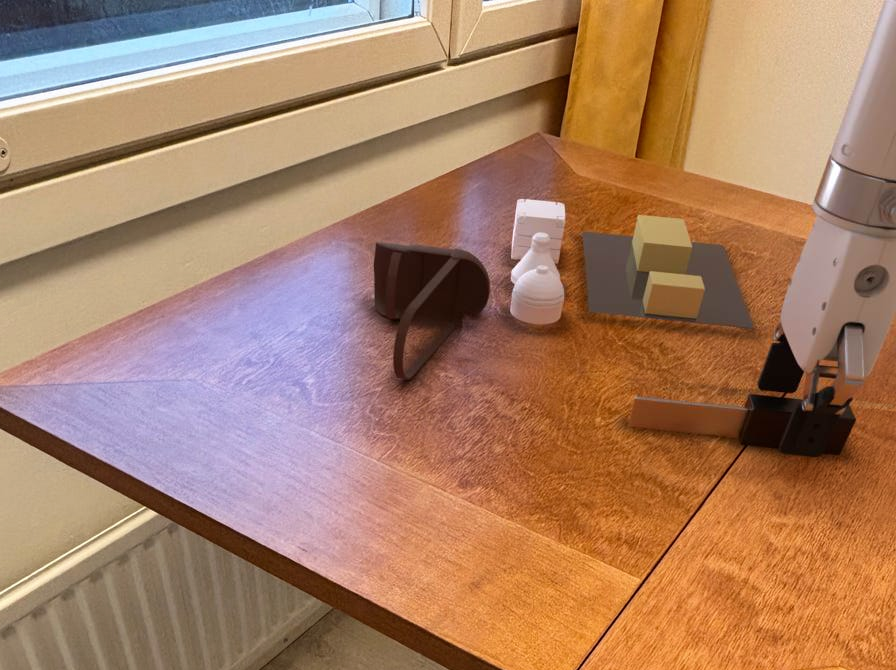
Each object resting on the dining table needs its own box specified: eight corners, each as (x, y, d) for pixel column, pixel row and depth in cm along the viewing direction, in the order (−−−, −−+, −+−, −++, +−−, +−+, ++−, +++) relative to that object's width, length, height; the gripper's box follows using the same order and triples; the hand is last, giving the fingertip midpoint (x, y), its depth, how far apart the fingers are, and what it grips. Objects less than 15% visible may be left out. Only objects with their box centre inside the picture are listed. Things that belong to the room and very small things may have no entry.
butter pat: (692, 305, 88) (701, 275, 86) (696, 319, 86) (705, 288, 84) (642, 300, 89) (649, 270, 87) (644, 314, 86) (652, 283, 84)
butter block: (676, 246, 99) (684, 218, 97) (684, 276, 94) (692, 247, 92) (631, 242, 99) (638, 214, 97) (637, 271, 94) (644, 242, 92)
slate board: (720, 253, 101) (723, 244, 101) (751, 338, 86) (754, 328, 86) (580, 239, 102) (582, 230, 101) (586, 321, 87) (588, 311, 86)
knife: (832, 441, 74) (849, 403, 71) (839, 457, 72) (856, 419, 69) (626, 419, 74) (636, 381, 72) (628, 435, 72) (639, 396, 70)
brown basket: (373, 297, 88) (375, 225, 83) (489, 313, 87) (498, 241, 82) (327, 386, 75) (327, 307, 70) (463, 406, 74) (472, 327, 69)
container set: (509, 249, 98) (516, 197, 95) (556, 254, 98) (565, 202, 94) (506, 331, 84) (514, 274, 80) (561, 337, 84) (572, 279, 80)
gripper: (979, 250, 53) (861, 487, 65) (897, 158, 65) (810, 373, 77) (852, 237, 53) (758, 476, 65) (794, 149, 66) (724, 364, 78)
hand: (786, 420), depth 71 cm, fingers open, 9 cm apart
